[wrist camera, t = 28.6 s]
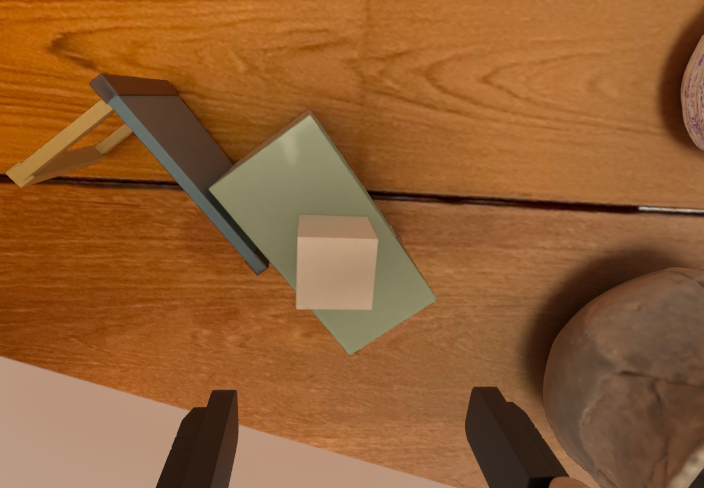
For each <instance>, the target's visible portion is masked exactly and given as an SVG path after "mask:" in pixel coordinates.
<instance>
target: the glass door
mask: <svg viewBox="0 0 704 488" xmlns="http://www.w3.org/2000/svg"><path fill="white" fill-rule="evenodd" d="M89 85H90V86H91V87H92V88H93V89H94V91H95V92H96V93H97V94H98V95H99V96H100V97H101V100H100V101H99V102H97V103H96V104H95V105H94V106H92V107H91V108H90V109H89V110H87V111H86V112H85V113H84V114H82V115H81V116H80V117H79V118H77V119H76V120H75V121H74V122H72V123H71V124H70V125H69V126H67V127H66V128H65V129H64V130H62V131H61V132H60V133H59V134H57V135H56V136H55V137H54V138H52V139H51V140H50V141H49V142H47V143H46V144H45V145H44V146H42V147H41V148H40V149H39V150H37V151H36V152H35V153H34V154H32V155H31V156H30V157H29V158H27V159H26V160H25V161H22V162H18V163H17V164H16V165H14V166H13V167H12V168H11V169H9V170H8V171H7V172H6V174H7V175H8V176H9V177H10V178H11V179H12V180H13V181H14V182H15V183H16V184H17V185H18V186H19V187H21V188H22V187H26V186H29V185H32V184H35V183H38V182H41V181H44V180H47V179H51V178H54V177H57V176H60V175H63V174H66V173H69V172H72V171H76V170H79V169H82V168H85V167H88V166H91V165H94V164H97V163H99V162H101V161H102V160H103V159H105V158H106V157H107V156H108V154H107V153H108V152H109V151H110V150H112V149H113V148H114V147H115V146H117V145H118V144H119V143H121V142H122V141H123V140H124V139H126V138H127V137H128V136H130V135H131V134H132V133H134V134H135V135H136V136H137V137H138V138H139V139H140V141H141V142H142V143H143V144H144V145H145V146H146V147H147V148H148V150H149V151H150V152H151V153H152V154H153V155H154V156H155V158H156V159H157V160H158V161H159V162H160V163H161V164H162V166H163V167H164V168H165V169H166V170H167V171H168V172H169V174H170V175H171V176H172V177H173V178H174V179H175V180H176V182H177V183H178V184H179V185H180V186H181V187H182V188H183V190H184V191H185V192H186V193H187V194H188V195H189V196H190V198H191V199H192V200H193V201H194V202H195V203H196V204H197V206H198V207H199V208H200V209H201V210H202V211H203V212H204V214H205V215H206V216H207V217H208V218H209V219H210V220H211V222H212V223H213V224H214V225H215V226H216V227H217V228H218V229H219V231H220V232H221V233H222V234H223V235H224V236H225V237H226V239H227V240H228V241H229V242H230V243H231V244H232V245H233V247H234V248H235V249H236V250H237V251H238V252H239V253H240V255H241V256H242V257H243V258H244V259H245V262H246V263H247V265H248V266H249V267H250V268H251V269H252V270H253V271H254V273H255V274H256V275H259V274H261V273H262V272H263V271H265V270H266V269H268V267H269V262H270V261H269V260H268V259H267V258H266V256H265V255H264V254H263V253H262V252H261V251H260V249H259V248H258V247H257V246H256V245H255V244H254V242H253V241H252V240H251V239H250V238H249V236H248V235H247V234H246V233H245V232H244V231H243V229H242V228H241V227H240V226H239V225H238V224H237V222H236V221H235V220H234V219H233V218H232V216H231V215H230V214H229V213H228V212H227V211H226V209H225V208H224V207H223V206H222V205H221V204H220V202H219V201H218V200H217V199H216V198H215V196H214V195H213V194H212V193H211V192H210V191H209V188H210V187H211V186H212V185H213V184H214V183H215V182H216V181H217V180H218V179H219V178H221V177H222V176H223V175H224V174H225V173H226V172H227V171H228V170H229V169H230V168H231V167H232V166H234V165H233V164H232V162H231V161H230V160H229V159H228V157H227V156H226V155H225V154H224V152H223V151H222V150H221V149H220V148H219V146H218V145H217V144H216V143H215V141H214V140H213V139H212V138H211V136H210V135H209V134H208V133H207V131H206V130H205V129H204V128H203V126H202V125H201V124H200V123H199V121H198V120H197V119H196V118H195V116H194V115H193V114H192V113H191V111H190V110H189V109H188V108H187V106H186V105H185V104H184V103H183V101H182V100H181V99H180V98H179V96H178V93H177V92H176V91H175V90H174V88H173V87H172V86H171V85H170V83H169V82H168V81H166V80H157V79H148V78H138V77H129V76H119V75H110V74H100V75H98V76H97V77H96V78H95V79H94V80H92V81H91V82H90V83H89ZM114 112H116V113H117V114H118V115H119V117H120V118H121V119H122V120H123V121H124V122H125V124H124V125H122V126H121V127H120V128H118V129H117V130H116V131H115V132H113V133H112V134H111V135H109V136H108V137H107V138H106V139H104V140H103V141H102V142H101V143H99V144H96V145H92V146H87V147H83V148H79V149H74V150H70V151H66V150H68V149H69V148H70V147H71V146H73V145H74V144H75V143H76V142H78V141H79V140H80V139H81V138H83V137H84V136H85V135H86V134H88V133H89V132H90V131H92V130H93V129H94V128H95V127H97V126H98V125H99V124H100V123H102V122H103V121H104V120H105V119H107V118H108V117H109V116H110V115H112V114H113V113H114ZM65 151H66V152H65Z"/></svg>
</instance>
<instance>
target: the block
mask: <svg viewBox="0 0 704 488" xmlns="http://www.w3.org/2000/svg"><path fill="white" fill-rule="evenodd" d="M377 249H378V238H377V236H376V234H375V232H374V230H373V228H372V226H371V223H370V221H369V219H368V217H361V216H332V215H303V214H300V215H299V221H298V233H297V269H296V309H322V310H372V303H373V292H374V282H375V271H376V260H377Z"/></svg>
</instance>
